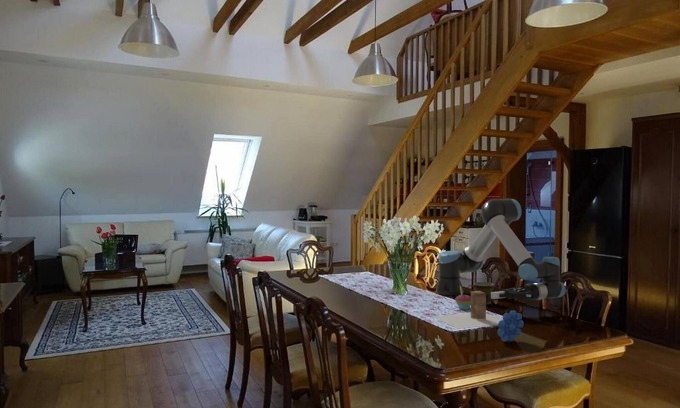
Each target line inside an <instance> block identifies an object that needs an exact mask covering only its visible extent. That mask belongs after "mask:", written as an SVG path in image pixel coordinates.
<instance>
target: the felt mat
mask: <svg viewBox="0 0 680 408" xmlns="http://www.w3.org/2000/svg"><path fill="white" fill-rule="evenodd" d="M434 318H435V319H437V320H439V321H441V322H443V323H445V324H446V325H449V326H451V327H453V328H455V329H457V330H459V329H466V328H476V327H483V326H486V327H487V326H491V325H492V326H495V325H498V323H499V321H501V320H503V318H502V319H501V318H499V317H496V316H494V315H491V314H489V313H487V312H486V320H479V321H477V320H475V319H472V318H471V312H467V313H465V312H464V313H457V314H456V313H455V314H448V315H446V314H445V315H441V316H440V315H439V316H434Z"/></svg>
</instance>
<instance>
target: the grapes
mask: <svg viewBox="0 0 680 408" xmlns="http://www.w3.org/2000/svg"><path fill="white" fill-rule="evenodd" d="M522 318H523V316H522V313H519V312H518V313H517V311H516V310H510V311H509V313H508V312H505V313H504V314H503V315H502V320H501V321H499V323H498V324H497V326H498V330H497V332H496V333H497V336H499V337H500V338H501V342H507V341H509V342H513V341H515V339H516V337H519V336H520V335H521V333H522V329H521V328H523V327H524V324H525V322H524V321H523V320H522Z"/></svg>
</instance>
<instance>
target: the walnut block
mask: <svg viewBox="0 0 680 408" xmlns="http://www.w3.org/2000/svg"><path fill="white" fill-rule="evenodd" d="M471 291H472V292H471ZM471 291H470V297H471V305H470V313H471V318H472V319H475V320H477V321H479V320H486V313H487V305H486V293H484V292H481V291H475V290H471Z"/></svg>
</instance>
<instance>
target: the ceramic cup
mask: <svg viewBox="0 0 680 408" xmlns="http://www.w3.org/2000/svg"><path fill="white" fill-rule="evenodd" d="M469 287H472V288H473V289H474V290H471V289H470V288H469ZM494 287H495V286H494V283H492V282H488V281H487V282H485V281H477V282H474V283H473V285H472V284H469V285H468V286H467V289H468V291H469V292H470V293H471V292H472V291H481V292H484V293H486V306H487V305H491V303H492V298H491V292H494Z"/></svg>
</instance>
